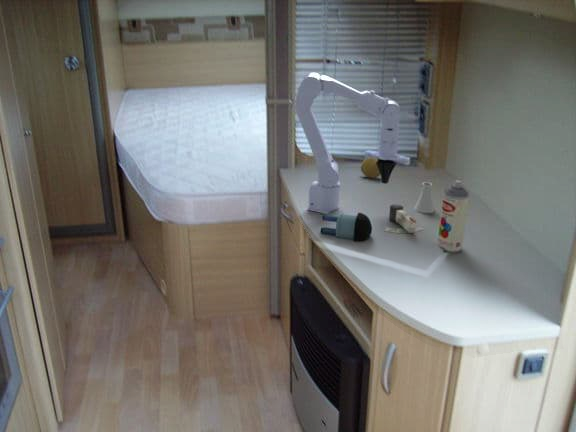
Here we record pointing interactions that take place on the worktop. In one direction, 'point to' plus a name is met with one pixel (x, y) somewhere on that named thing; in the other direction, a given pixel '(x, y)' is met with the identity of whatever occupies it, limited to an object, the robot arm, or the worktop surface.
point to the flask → (425, 200)
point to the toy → (349, 226)
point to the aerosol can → (453, 218)
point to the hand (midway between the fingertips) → (385, 182)
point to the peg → (402, 218)
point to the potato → (370, 168)
